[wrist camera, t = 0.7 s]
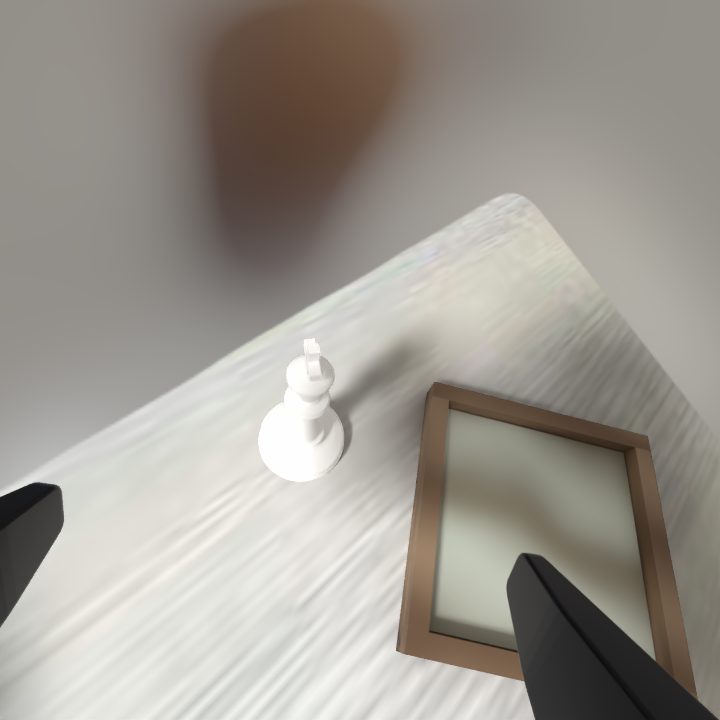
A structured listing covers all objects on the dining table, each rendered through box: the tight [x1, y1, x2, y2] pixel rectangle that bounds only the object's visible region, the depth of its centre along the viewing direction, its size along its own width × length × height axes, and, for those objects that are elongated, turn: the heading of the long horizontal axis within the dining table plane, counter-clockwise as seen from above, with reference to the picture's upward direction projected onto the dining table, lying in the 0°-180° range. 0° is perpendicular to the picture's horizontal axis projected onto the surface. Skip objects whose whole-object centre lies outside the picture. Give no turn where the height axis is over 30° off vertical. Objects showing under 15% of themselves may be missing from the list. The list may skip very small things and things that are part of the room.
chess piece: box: [259, 338, 344, 481], centre depth 20 cm, size 5×5×10 cm
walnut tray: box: [396, 382, 698, 700], centre depth 23 cm, size 14×14×2 cm
